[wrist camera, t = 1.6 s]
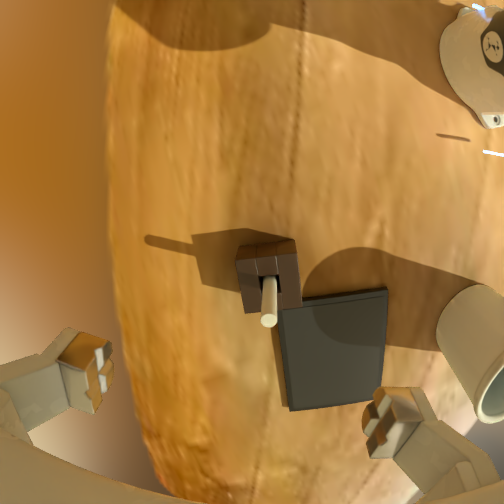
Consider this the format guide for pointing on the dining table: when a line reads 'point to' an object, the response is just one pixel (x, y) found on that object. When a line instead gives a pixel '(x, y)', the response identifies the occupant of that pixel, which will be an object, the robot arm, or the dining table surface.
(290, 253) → the pen stand
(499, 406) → the utensil holder
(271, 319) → the stylus
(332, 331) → the tablet
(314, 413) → the dining table surface
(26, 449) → the robot arm
